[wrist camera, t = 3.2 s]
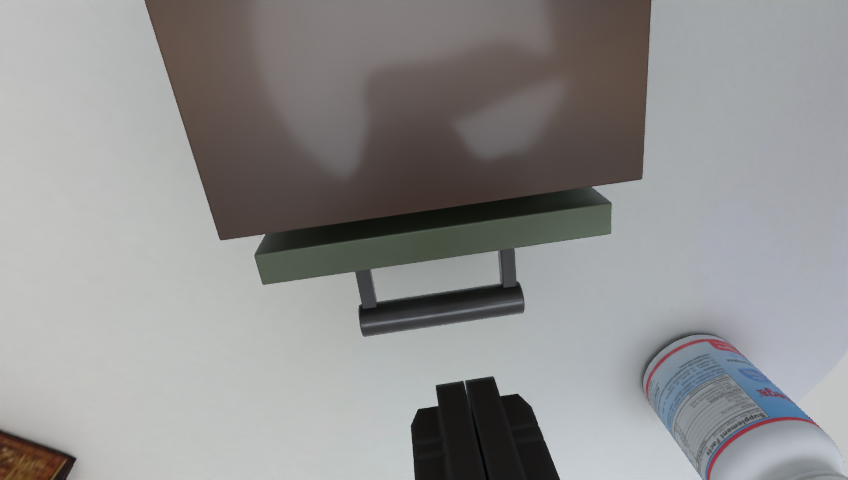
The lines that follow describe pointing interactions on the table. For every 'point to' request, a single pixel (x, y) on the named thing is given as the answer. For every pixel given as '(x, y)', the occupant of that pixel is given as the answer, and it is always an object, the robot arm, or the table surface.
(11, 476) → the book
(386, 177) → the cabinet
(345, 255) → the drawer
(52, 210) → the table surface
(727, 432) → the pill bottle
